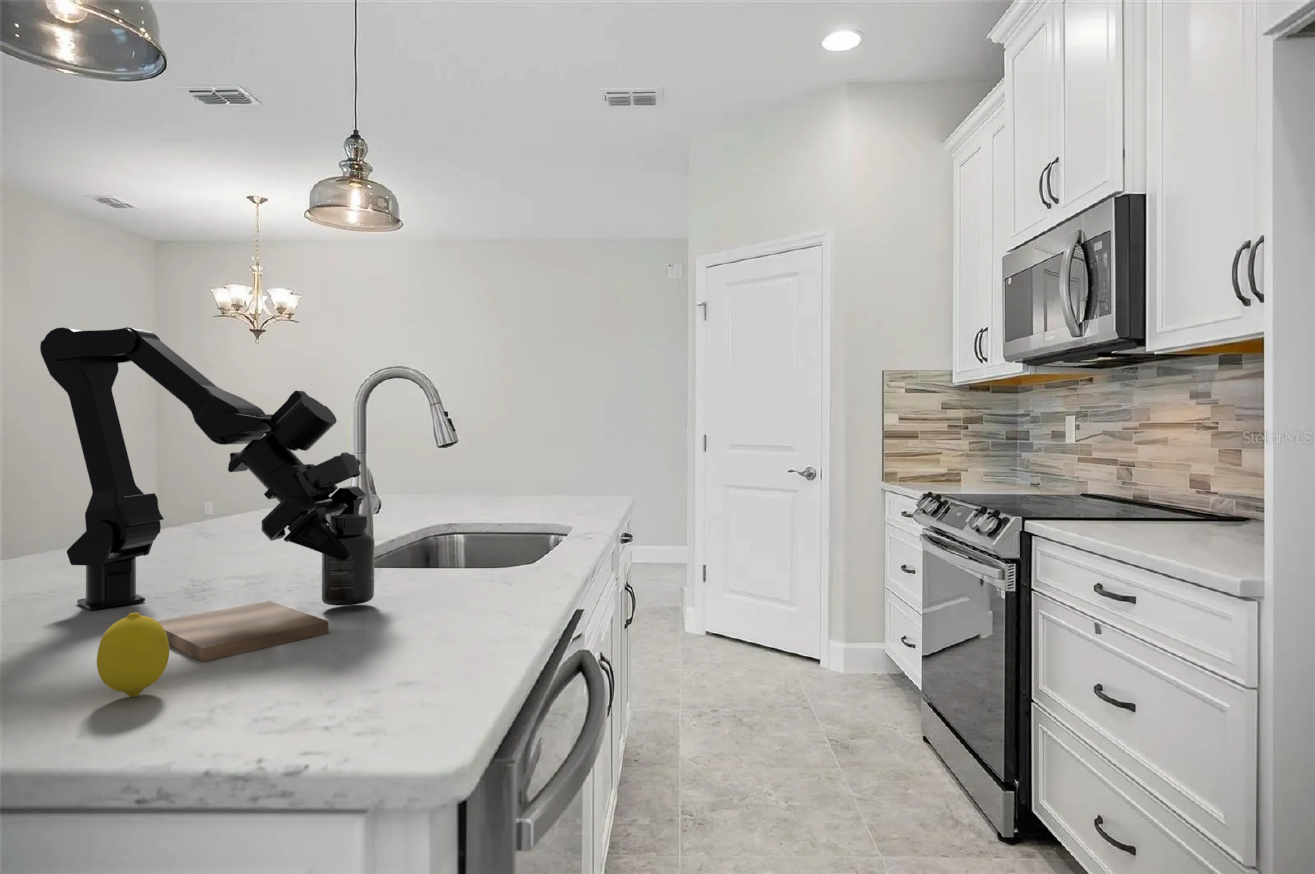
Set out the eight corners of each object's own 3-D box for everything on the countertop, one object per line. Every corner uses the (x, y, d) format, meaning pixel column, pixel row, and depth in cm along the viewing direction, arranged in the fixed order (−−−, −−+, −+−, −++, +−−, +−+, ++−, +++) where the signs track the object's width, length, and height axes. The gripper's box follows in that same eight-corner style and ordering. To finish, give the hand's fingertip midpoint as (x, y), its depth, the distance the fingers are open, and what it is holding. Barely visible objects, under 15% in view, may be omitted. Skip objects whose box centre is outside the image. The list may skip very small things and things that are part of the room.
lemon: (131, 710, 65) (131, 622, 65) (81, 705, 66) (80, 618, 66) (183, 688, 70) (183, 607, 70) (136, 684, 71) (136, 603, 71)
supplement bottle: (384, 598, 103) (386, 514, 103) (345, 609, 97) (347, 520, 96) (349, 593, 106) (351, 511, 105) (310, 603, 99) (311, 516, 99)
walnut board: (150, 634, 88) (149, 622, 88) (269, 611, 99) (269, 601, 99) (202, 662, 78) (202, 648, 78) (328, 633, 89) (328, 621, 89)
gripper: (285, 434, 92) (369, 523, 91) (354, 433, 110) (423, 507, 110) (224, 494, 92) (307, 583, 92) (303, 483, 111) (372, 557, 110)
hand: (358, 554), depth 101 cm, fingers closed on supplement bottle, 7 cm apart
